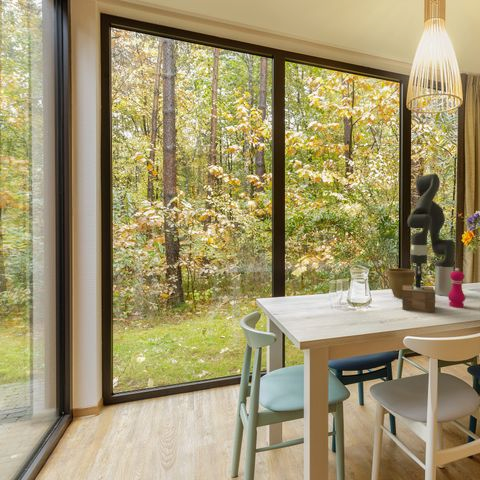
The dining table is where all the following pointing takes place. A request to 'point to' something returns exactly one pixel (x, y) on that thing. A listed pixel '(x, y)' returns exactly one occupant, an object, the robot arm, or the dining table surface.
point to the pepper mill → (456, 289)
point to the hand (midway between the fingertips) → (418, 287)
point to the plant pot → (400, 280)
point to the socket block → (418, 299)
